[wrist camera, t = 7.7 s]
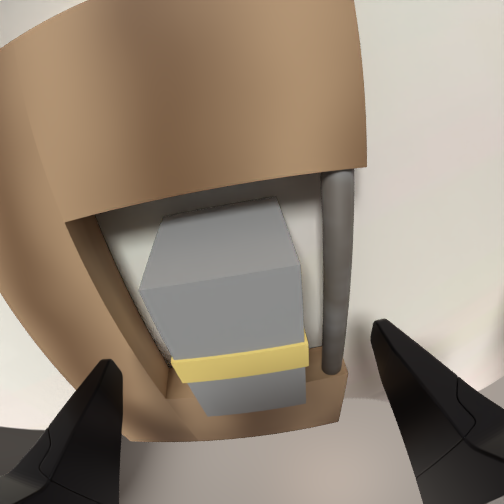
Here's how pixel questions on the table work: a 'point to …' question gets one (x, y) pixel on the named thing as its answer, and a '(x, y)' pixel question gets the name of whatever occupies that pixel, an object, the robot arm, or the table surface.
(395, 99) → the table surface
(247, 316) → the grey banded block
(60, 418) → the robot arm
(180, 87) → the brown wooden flat frame
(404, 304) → the table surface
